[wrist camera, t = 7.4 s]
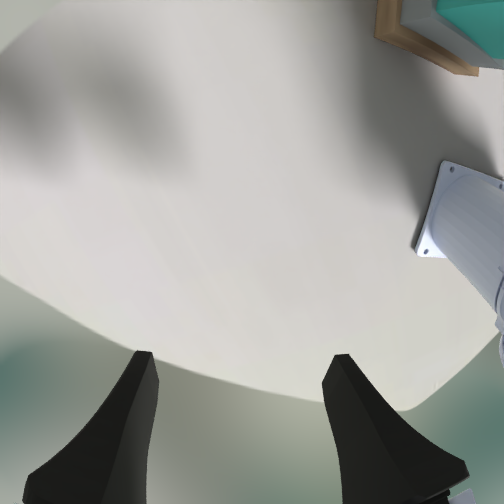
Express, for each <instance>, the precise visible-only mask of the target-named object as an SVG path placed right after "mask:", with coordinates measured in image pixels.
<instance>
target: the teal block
mask: <svg viewBox="0 0 504 504" xmlns="http://www.w3.org/2000/svg"><path fill="white" fill-rule="evenodd" d="M436 12H437V13H438V14H440V15H441V16H443V17H444V18H445V19H447V20H448V21H449V22H451V23H452V24H453V25H455V26H456V27H457V28H459V29H460V30H461V31H462V32H464V33H465V34H466V35H467V36H468V37H470V38H471V39H472V40H473V41H474V42H475V43H477V44H478V45H479V46H480V47H481V48H482V49H483V50H484V51H485V52H487V53H488V54H489V55H490V56H491V57H492V58H496V59H504V0H437V6H436Z"/></svg>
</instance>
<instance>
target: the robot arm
mask: <svg viewBox="0 0 504 504" xmlns="http://www.w3.org/2000/svg"><path fill="white" fill-rule="evenodd" d="M451 167H452V169H451V170H450V168H451ZM425 249H426V250H425ZM424 250H425V251H424ZM415 253H416V254H417V256H422V257H439V258H448V259H449V260H450V261H451V262H452V263H453V264H454V265H455V266H456V268H457V269H458V270H459V271H460V272H461V273H462V274H463V275H464V276H465V277H466V278H467V279H468V280H469V282H470V283H471V284H472V285H473V286H474V287H475V288H476V289H477V291H478V292H479V293H480V294H481V295H482V296H483V298H484V299H485V300H486V301H487V302H488V303H489V305H490V306H491V307H492V308H493V310H494V311H495V312H496V313H497V320H496V322H495V326H496V327H497V328H498V330H499V331H500V332H501V334H502V336H501V340H500V345H499V352H500V358H501V361H502V364H503V367H504V181H501V180H499V179H497V178H494V177H492V176H489V175H486V174H484V173H481V172H478V171H476V170H473V169H470V168H467V167H464V166H462V165H459V164H456V163H453V162H450V161H443V162H442V163H441V166H440V170H439V174H438V178H437V182H436V185H435V189H434V192H433V196H432V199H431V203H430V206H429V209H428V213H427V216H426V219H425V222H424V225H423V228H422V231H421V234H420V237H419V239H418V242H417V245H416V248H415ZM158 388H159V379H158V375H157V371H156V367H155V363H154V358H153V354H152V352H147V351H138V350H137V351H136V352H135V353H134V355H133V357H132V358H131V360H130V362H129V364H128V365H127V367H126V369H125V371H124V372H123V374H122V375H121V377H120V379H119V380H118V382H117V383H116V385H115V386H114V388H113V389H112V391H111V392H110V394H109V395H108V397H107V398H106V400H105V401H104V402H103V404H102V405H101V406H100V408H99V409H98V410H97V412H96V413H95V414H94V416H93V417H92V418H91V419H90V421H89V422H88V423H87V424H86V426H84V428H83V429H82V430H81V431H80V432H79V433H78V434H77V435H76V436H75V437H74V438H73V439H72V440H71V441H70V442H69V443H68V444H67V445H66V446H65V447H64V448H63V449H62V450H61V451H59V452H58V453H57V454H56V455H55V456H54V457H52V458H51V459H50V460H49V461H48V462H46V463H45V464H44V465H42V466H41V467H40V468H38V469H36V470H35V471H34V472H33V473H31V474H30V475H28V478H27V481H26V484H25V488H24V494H23V499H22V501H23V503H24V504H146V473H147V456H148V449H149V443H150V438H151V432H152V427H153V422H154V417H155V411H156V407H157V399H158ZM322 388H323V396H324V402H325V407H326V411H327V414H328V418H329V422H330V425H331V429H332V432H333V436H334V440H335V444H336V447H337V452H338V457H339V465H340V472H341V483H342V498H343V504H476V502H475V498H474V495H473V492H472V489H471V488H469V489H467V490H465V491H463V492H461V493H460V494H458V495H456V496H454V497H452V498H450V499H448V498H447V496H449V495H450V490H449V488H452V487H453V486H455V485H457V484H459V483H461V482H462V481H464V480H466V479H467V478H469V476H470V475H469V472H468V470H467V467H466V465H465V462H464V460H461V459H459V458H458V457H455V456H453V455H452V454H450V453H448V452H446V451H444V450H443V449H441V448H439V447H438V446H436V445H435V444H433V443H432V442H430V441H429V440H428V439H426V438H425V437H424V436H422V435H421V434H420V433H418V432H417V431H416V430H415V429H413V428H412V427H411V426H410V425H409V424H408V423H407V422H406V421H405V420H403V419H402V418H401V417H400V416H399V415H398V414H397V413H396V411H395V410H394V409H393V408H392V407H391V406H390V405H389V404H388V403H387V402H386V401H385V399H384V398H383V397H382V396H381V395H380V393H379V392H378V391H377V390H376V389H375V387H374V386H373V385H372V384H371V382H370V381H369V380H368V379H367V377H366V376H365V375H364V373H363V372H362V371H361V370H360V368H359V367H358V366H357V364H356V363H355V362H354V360H353V359H352V358H351V357H350V355H349V354H340V355H335V356H334V358H333V360H332V362H331V364H330V367H329V369H328V371H327V373H326V375H325V377H324V379H323V381H322ZM14 504H17V503H14Z"/></svg>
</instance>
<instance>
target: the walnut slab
mask: <svg viewBox="0 0 504 504" xmlns="http://www.w3.org/2000/svg"><path fill="white" fill-rule="evenodd" d="M401 9H402V0H378V2H377V13H376V23H375V32H374V38H377V39H380V40H382V41H385V42H388V43H390V44H393V45H395V46H398V47H400V48H402V49H405V50H407V51H409V52H411V53H414V54H416V55H418V56H420V57H422V58H424V59H426V60H428V61H431V62H433V63H434V64H436V65H438V66H440V67H442V68H444V69H446V70H448V71H450V72H451V73H453V74H457V75H468V76H477V77H478V74H479V67H472V66H471V65H469V64H468V63H467V62H465V61H464V60H462V59H461V58H459V57H458V56H456V55H454V54H453V53H451V52H450V51H448V50H446V49H445V48H443V47H441V46H440V45H438V44H436V43H435V42H433V41H431V40H429V39H428V38H426V37H424V36H422V35H420V34H418V33H416V32H414V31H412V30H410V29H408V28H406V27H404V26H402V25H400V18H401Z"/></svg>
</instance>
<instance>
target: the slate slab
mask: <svg viewBox="0 0 504 504" xmlns="http://www.w3.org/2000/svg"><path fill="white" fill-rule="evenodd" d="M436 6H437V0H402V9H401V18H400V25H402V26H404V27H406V28H408V29H410V30H412V31H414V32H416V33H418V34H420V35H422V36H424V37H426V38H428V39H429V40H431V41H433V42H435V43H436V44H438V45H440V46H441V47H443V48H445V49H446V50H448V51H450V52H451V53H453V54H454V55H456V56H458V57H459V58H461V59H462V60H464V61H465V62H467V63H468V64H469V65H471V66H472V67H484V68H494V69H502V70H504V59H496V58H492V57H491V56H490V55H489V54H488V53H487V52H485V51H484V50H483V49H482V48H481V47H480V46H479V45H478V44H477V43H475V42H474V41H473V40H472V39H471V38H470V37H468V36H467V35H466V34H465V33H464V32H462V31H461V30H460V29H459V28H457V27H456V26H455V25H453V24H452V23H451V22H449V21H448V20H447V19H445V18H444V17H443V16H441V15H440V14H438V13H437V12H436Z"/></svg>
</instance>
